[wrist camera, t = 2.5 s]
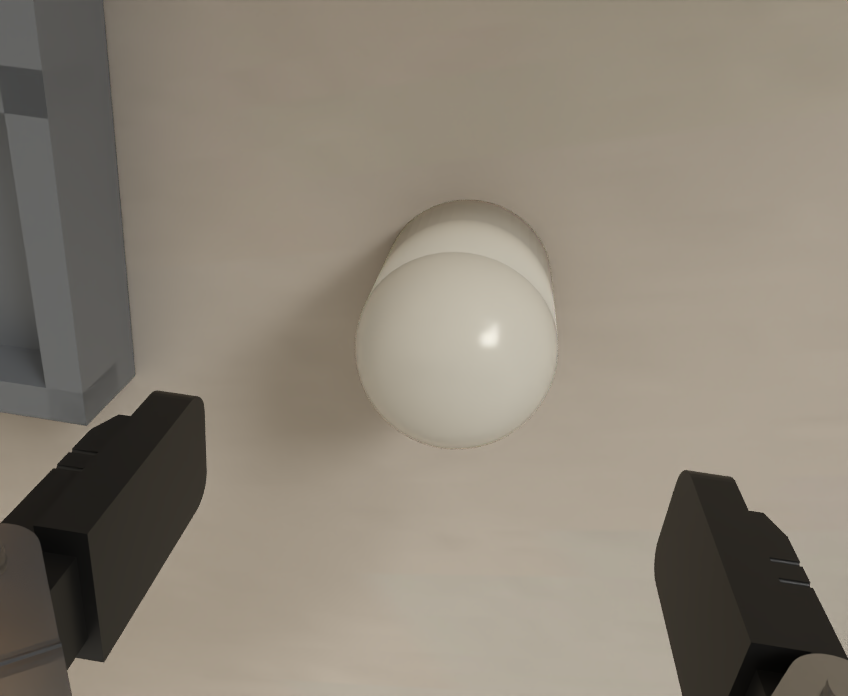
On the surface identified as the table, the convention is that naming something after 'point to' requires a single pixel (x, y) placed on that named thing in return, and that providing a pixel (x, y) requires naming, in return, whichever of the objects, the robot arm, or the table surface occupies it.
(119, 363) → the egg tray
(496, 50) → the table surface
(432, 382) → the cream egg
